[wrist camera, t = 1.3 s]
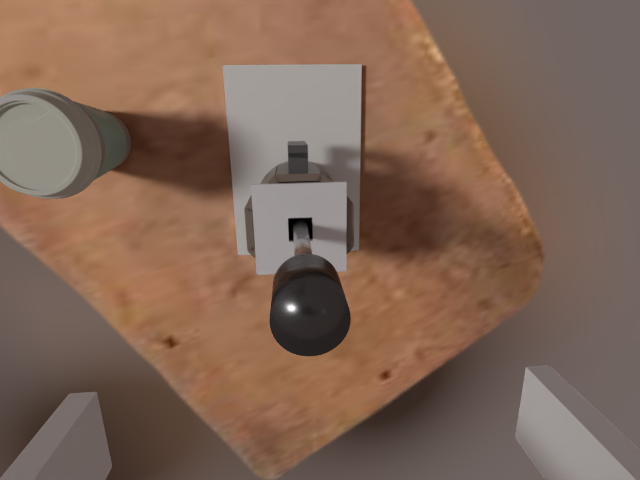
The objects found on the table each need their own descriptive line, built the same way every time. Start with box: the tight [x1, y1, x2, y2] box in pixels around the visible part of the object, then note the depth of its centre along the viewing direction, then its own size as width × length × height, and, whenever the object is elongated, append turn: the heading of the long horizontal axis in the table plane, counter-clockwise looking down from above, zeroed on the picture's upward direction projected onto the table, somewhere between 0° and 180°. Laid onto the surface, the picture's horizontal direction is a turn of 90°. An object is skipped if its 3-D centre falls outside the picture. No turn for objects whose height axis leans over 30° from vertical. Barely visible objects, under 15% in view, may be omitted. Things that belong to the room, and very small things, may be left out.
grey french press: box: [244, 141, 354, 275], centre depth 38 cm, size 11×9×12 cm
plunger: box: [270, 220, 351, 356], centre depth 25 cm, size 4×4×16 cm
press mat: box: [223, 64, 362, 255], centre depth 43 cm, size 20×14×1 cm
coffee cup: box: [0, 88, 131, 199], centre depth 35 cm, size 8×8×12 cm
